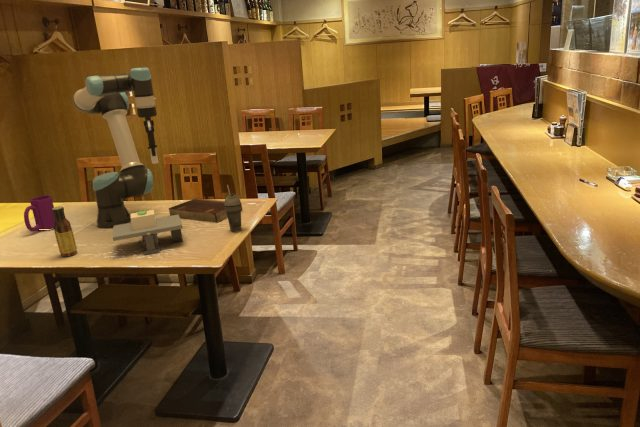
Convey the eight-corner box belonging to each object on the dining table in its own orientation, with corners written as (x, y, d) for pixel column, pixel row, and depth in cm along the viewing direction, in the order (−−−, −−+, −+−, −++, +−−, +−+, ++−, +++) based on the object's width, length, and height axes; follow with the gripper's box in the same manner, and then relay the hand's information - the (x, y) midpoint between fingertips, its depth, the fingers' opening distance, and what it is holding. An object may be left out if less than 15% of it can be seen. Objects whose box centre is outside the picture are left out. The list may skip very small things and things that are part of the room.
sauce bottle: (64, 252, 207) (53, 205, 201) (80, 250, 208) (69, 204, 202) (57, 258, 201) (46, 210, 195) (74, 257, 201) (62, 208, 195)
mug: (63, 225, 244) (56, 195, 240) (37, 236, 230) (29, 205, 226) (48, 224, 247) (40, 195, 242) (21, 236, 233) (13, 204, 228)
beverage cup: (241, 233, 214) (235, 186, 208) (224, 233, 216) (218, 187, 210) (246, 227, 221) (241, 182, 215) (231, 227, 222) (225, 182, 216)
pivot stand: (144, 255, 197) (140, 238, 195) (142, 238, 217) (139, 222, 215) (184, 247, 202) (182, 231, 200) (179, 231, 222) (177, 216, 220)
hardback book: (242, 211, 246) (241, 201, 244) (217, 223, 230) (215, 213, 229) (197, 206, 260) (195, 197, 258) (170, 218, 244) (168, 208, 243)
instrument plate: (113, 243, 195) (109, 223, 193) (114, 230, 210) (110, 212, 207) (183, 230, 203) (179, 211, 200) (179, 219, 218) (176, 201, 215)
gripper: (156, 107, 205) (165, 164, 212) (154, 104, 216) (163, 159, 224) (136, 109, 202) (146, 167, 210) (136, 106, 214) (145, 161, 222)
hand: (155, 163), depth 217 cm, fingers closed
